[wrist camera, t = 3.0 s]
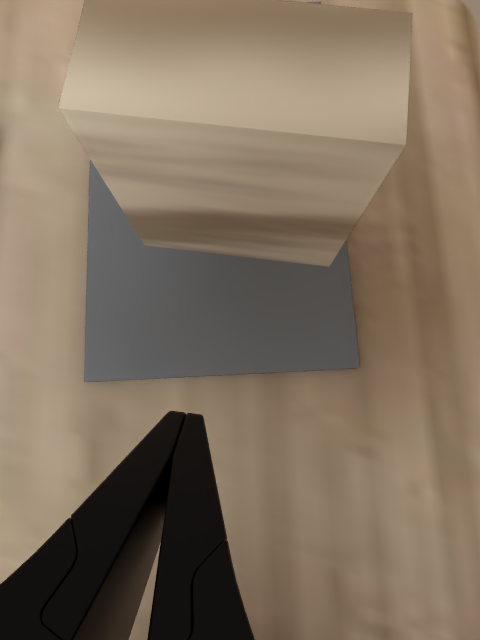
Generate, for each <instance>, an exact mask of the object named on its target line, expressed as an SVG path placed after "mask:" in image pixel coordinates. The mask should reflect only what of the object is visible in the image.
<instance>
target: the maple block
mask: <svg viewBox="0 0 480 640" xmlns="http://www.w3.org/2000/svg"><path fill="white" fill-rule="evenodd" d="M412 15H413V13H408V12H398V11H387V10H377V9H366V8H356V7H345V6H335V5H324V4H314V3H303V2H293V1H282V0H84V4H83V9H82V13H81V17H80V21H79V25H78V29H77V33H76V37H75V41H74V46H73V50H72V54H71V58H70V62H69V66H68V70H67V74H66V78H65V82H64V87H63V91H62V95H61V99H60V103H59V107H58V109H59V110H60V112H61V113H62V115H63V117H64V118H65V120H66V121H67V123H68V124H69V126H70V128H71V129H72V131H73V132H74V134H75V136H76V137H77V139H78V140H79V142H80V144H81V145H82V147H83V148H84V150H85V152H86V153H87V155H88V156H89V158H90V159H91V161H92V163H93V164H94V166H95V167H96V169H97V171H98V172H99V174H100V175H101V177H102V179H103V180H104V182H105V183H106V185H107V186H108V188H109V190H110V191H111V193H112V194H113V196H114V198H115V199H116V201H117V202H118V204H119V206H120V207H121V209H122V210H123V212H124V214H125V215H126V217H127V218H128V220H129V221H130V223H131V225H132V226H133V228H134V229H135V231H136V233H137V234H138V236H139V237H140V239H141V241H142V242H143V244H144V245H146V246H154V247H163V248H172V249H180V250H189V251H197V252H206V253H215V254H223V255H232V256H240V257H249V258H257V259H266V260H275V261H283V262H292V263H300V264H309V265H318V266H326V267H329V266H330V265H331V263H332V262H333V260H334V258H335V257H336V255H337V254H338V252H339V250H340V249H341V247H342V246H343V244H344V242H345V241H346V239H347V238H348V236H349V235H350V233H351V231H352V230H353V228H354V227H355V225H356V223H357V222H358V220H359V219H360V217H361V216H362V214H363V212H364V211H365V209H366V208H367V206H368V204H369V203H370V201H371V200H372V198H373V196H374V195H375V193H376V192H377V190H378V189H379V187H380V185H381V184H382V182H383V181H384V179H385V177H386V176H387V174H388V173H389V171H390V169H391V168H392V166H393V165H394V163H395V162H396V160H397V158H398V157H399V155H400V154H401V152H402V150H403V149H404V147H405V146H406V134H407V114H408V94H409V75H410V55H411V35H412Z"/></svg>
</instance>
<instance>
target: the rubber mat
mask: <svg viewBox="0 0 480 640" xmlns="http://www.w3.org/2000/svg"><path fill="white" fill-rule="evenodd" d="M308 3H314V4H321V2H308ZM356 368H360V362H359V353H358V344H357V334H356V325H355V316H354V306H353V297H352V288H351V279H350V269H349V260H348V251H347V241H345V242H344V244H343V246H342V247H341V249H340V250H339V252H338V254H337V255H336V257H335V258H334V260H333V262H332V263H331V265H330V266H329V267H326V266H318V265H309V264H300V263H292V262H283V261H275V260H266V259H257V258H249V257H240V256H232V255H223V254H215V253H206V252H197V251H189V250H180V249H172V248H163V247H154V246H146V245H144V244H143V242H142V241H141V239H140V237H139V236H138V234H137V233H136V231H135V229H134V228H133V226H132V225H131V223H130V221H129V220H128V218H127V217H126V215H125V214H124V212H123V210H122V209H121V207H120V206H119V204H118V202H117V201H116V199H115V198H114V196H113V194H112V193H111V191H110V190H109V188H108V186H107V185H106V183H105V182H104V180H103V179H102V177H101V175H100V174H99V172H98V171H97V169H96V167H95V166H94V164H93V163H92V161H91V159H90V175H89V213H88V251H87V289H86V327H85V365H84V382H98V381H118V380H138V379H157V378H177V377H197V376H217V375H237V374H257V373H277V372H296V371H316V370H336V369H356Z"/></svg>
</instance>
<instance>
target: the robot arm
mask: <svg viewBox="0 0 480 640" xmlns="http://www.w3.org/2000/svg"><path fill="white" fill-rule="evenodd" d="M160 541H161V545H160V552H159V559H158V567H157V574H156V581H155V589H154V596H153V604H152V611H151V618H150V626H149V633H148V640H255V639H254V636H253V633H252V630H251V627H250V624H249V621H248V618H247V615H246V612H245V608H244V605H243V602H242V598H241V595H240V592H239V588H238V585H237V581H236V577H235V573H234V568H233V564H232V560H231V555H230V550H229V545H228V541H227V535H226V530H225V525H224V520H223V515H222V510H221V505H220V500H219V494H218V489H217V484H216V479H215V474H214V469H213V464H212V459H211V454H210V449H209V443H208V438H207V433H206V428H205V423H204V418H203V416H202V415H200V414H192V413H188V414H187V415H186V414H185V413H184V412H177V411H170V412H168V413H167V414H166V415H165V416H164V417H163V418H162V419H161V420H160V421H159V423H158V424H157V425H156V426H155V427H154V428H153V429H152V430H151V431H150V432H149V433H148V434H147V435H146V436H145V437H144V439H143V440H142V441H141V442H140V443H139V444H138V445H137V446H136V447H135V448H134V449H133V450H132V451H131V452H130V453H129V454H128V456H127V457H126V458H125V459H124V460H123V461H122V462H121V463H120V464H119V465H118V466H117V467H116V468H115V469H114V470H113V472H112V473H111V474H110V475H109V476H108V477H107V478H106V479H105V480H104V481H103V482H102V483H101V484H100V485H99V486H98V487H97V489H96V490H95V491H94V492H93V493H92V494H91V495H90V496H89V497H88V498H87V499H86V500H85V501H84V502H83V503H82V505H81V506H80V507H79V508H78V509H77V510H76V511H75V512H74V513H73V514H72V515H71V518H68V519H67V520H66V521H65V522H64V523H63V525H62V526H61V527H60V528H59V529H58V530H57V531H56V532H55V533H54V534H53V535H52V536H51V537H50V538H49V539H48V540H47V541H46V542H45V543H44V544H43V545H42V546H41V547H40V548H39V549H38V550H37V551H36V552H35V553H34V554H33V555H32V556H31V557H30V558H29V559H28V560H27V561H26V562H24V563H23V564H22V565H21V566H20V567H19V568H18V569H17V570H16V571H15V572H14V573H12V574H11V575H10V576H9V577H8V578H7V579H6V580H5V581H3V582H2V583H1V584H0V640H129V636H130V633H131V630H132V627H133V624H134V621H135V618H136V615H137V612H138V609H139V606H140V603H141V600H142V597H143V594H144V590H145V587H146V584H147V581H148V578H149V575H150V572H151V569H152V566H153V563H154V560H155V557H156V554H157V551H158V548H159V544H160Z"/></svg>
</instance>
